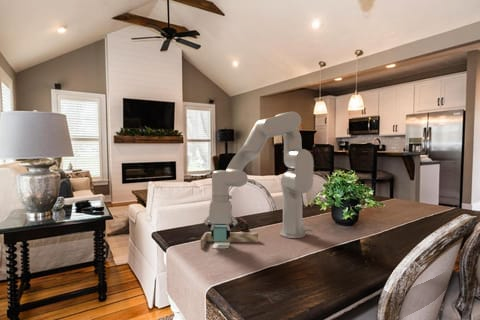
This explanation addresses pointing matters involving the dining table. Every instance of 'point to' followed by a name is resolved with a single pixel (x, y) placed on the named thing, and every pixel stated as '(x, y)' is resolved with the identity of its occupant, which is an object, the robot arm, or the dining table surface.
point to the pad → (221, 245)
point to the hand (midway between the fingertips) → (220, 238)
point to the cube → (220, 233)
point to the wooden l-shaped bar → (231, 237)
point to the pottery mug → (240, 225)
